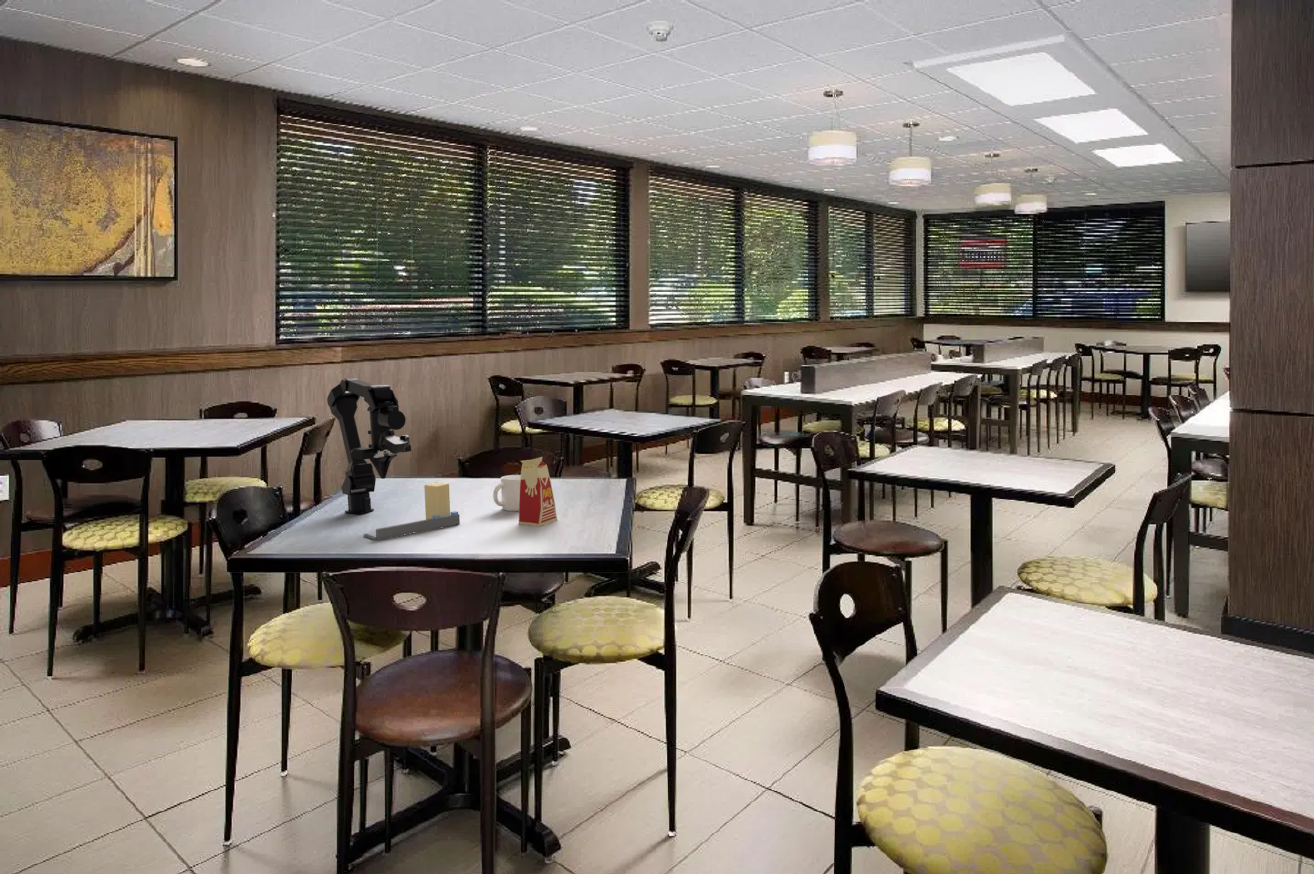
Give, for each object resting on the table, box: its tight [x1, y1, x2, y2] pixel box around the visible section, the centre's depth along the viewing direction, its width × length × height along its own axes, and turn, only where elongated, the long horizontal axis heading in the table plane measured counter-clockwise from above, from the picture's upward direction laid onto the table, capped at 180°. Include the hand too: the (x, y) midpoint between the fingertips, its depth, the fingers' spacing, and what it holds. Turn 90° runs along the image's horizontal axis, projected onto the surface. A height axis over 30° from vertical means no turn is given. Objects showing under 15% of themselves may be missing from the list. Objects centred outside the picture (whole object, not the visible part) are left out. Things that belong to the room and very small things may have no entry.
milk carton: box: [518, 456, 558, 527], centre depth 262 cm, size 9×9×20 cm
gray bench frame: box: [363, 510, 461, 541], centre depth 254 cm, size 27×7×4 cm, turn 135°
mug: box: [492, 474, 521, 512], centre depth 280 cm, size 12×8×10 cm
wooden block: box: [423, 481, 451, 520], centre depth 261 cm, size 5×5×12 cm
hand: (383, 478), depth 265 cm, fingers closed
